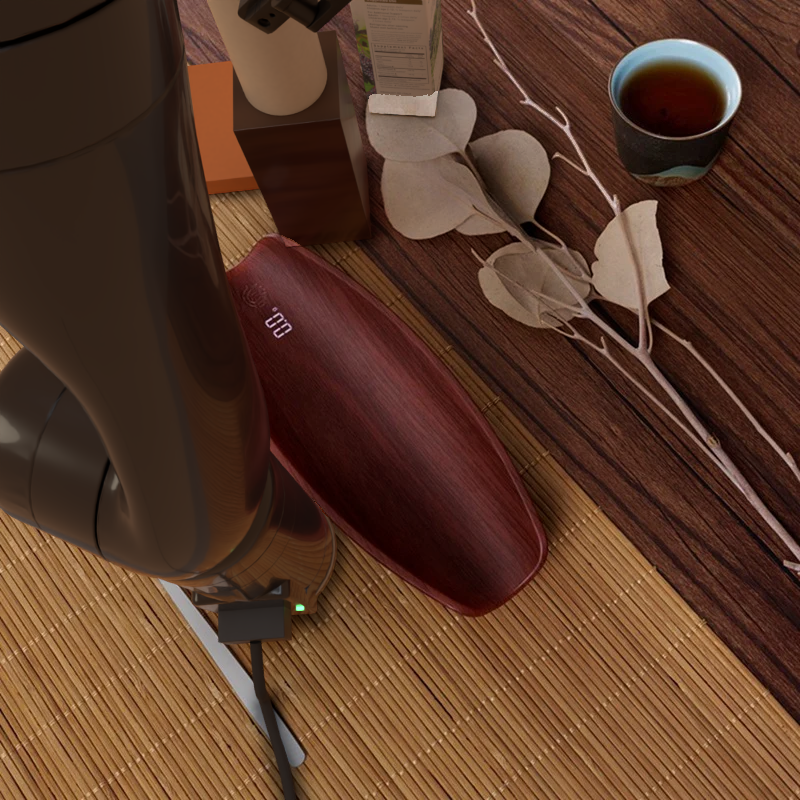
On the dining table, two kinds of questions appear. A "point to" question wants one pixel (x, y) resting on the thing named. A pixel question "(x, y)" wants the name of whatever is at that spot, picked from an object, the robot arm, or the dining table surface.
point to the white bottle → (272, 61)
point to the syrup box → (399, 45)
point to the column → (310, 159)
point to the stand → (218, 128)
